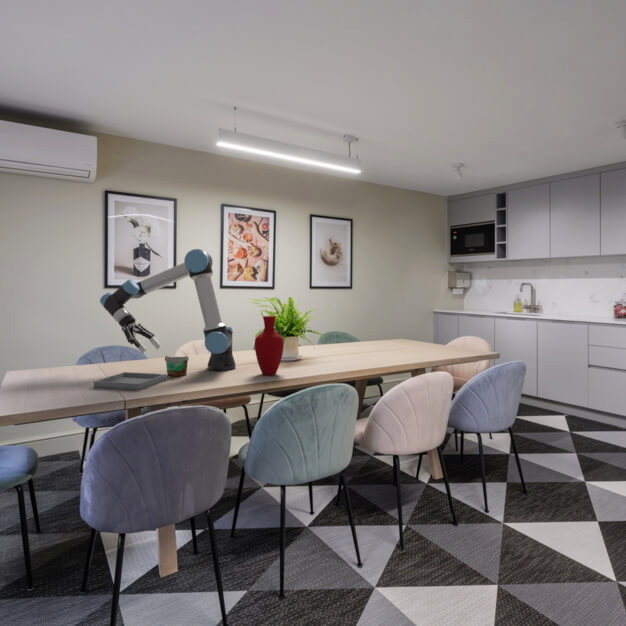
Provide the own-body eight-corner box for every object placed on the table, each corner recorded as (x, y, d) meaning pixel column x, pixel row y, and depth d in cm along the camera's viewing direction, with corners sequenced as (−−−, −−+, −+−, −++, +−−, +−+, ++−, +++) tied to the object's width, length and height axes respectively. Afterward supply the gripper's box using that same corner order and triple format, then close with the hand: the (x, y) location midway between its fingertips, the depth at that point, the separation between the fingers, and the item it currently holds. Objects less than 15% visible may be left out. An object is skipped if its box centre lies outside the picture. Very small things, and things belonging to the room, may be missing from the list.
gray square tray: (166, 380, 210) (166, 374, 210) (139, 391, 188) (139, 384, 188) (124, 378, 214) (124, 372, 214) (93, 388, 193) (93, 381, 192)
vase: (272, 378, 217) (273, 317, 216) (248, 375, 225) (248, 316, 223) (288, 373, 230) (289, 316, 229) (265, 370, 238) (265, 315, 236)
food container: (160, 377, 218) (159, 357, 217) (165, 374, 224) (165, 355, 223) (183, 378, 216) (183, 357, 216) (189, 375, 222) (188, 355, 222)
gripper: (134, 322, 236) (160, 351, 234) (103, 325, 212) (132, 358, 210) (143, 312, 235) (169, 341, 233) (113, 315, 211) (142, 347, 209)
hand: (152, 349), depth 221 cm, fingers open, 13 cm apart
